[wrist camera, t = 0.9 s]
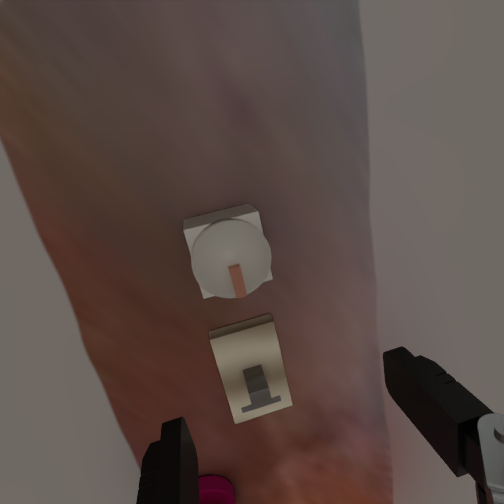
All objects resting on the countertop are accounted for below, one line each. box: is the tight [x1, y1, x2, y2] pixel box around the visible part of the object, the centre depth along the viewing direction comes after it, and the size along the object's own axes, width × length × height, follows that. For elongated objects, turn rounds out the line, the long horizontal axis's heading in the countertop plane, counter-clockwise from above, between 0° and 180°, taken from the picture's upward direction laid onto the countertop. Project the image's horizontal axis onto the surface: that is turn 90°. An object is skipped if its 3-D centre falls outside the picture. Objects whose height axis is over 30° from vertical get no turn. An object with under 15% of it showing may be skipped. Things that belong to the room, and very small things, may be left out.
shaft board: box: [209, 314, 292, 424], centre depth 30 cm, size 10×6×5 cm, turn 12°
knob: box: [183, 203, 273, 299], centre depth 25 cm, size 6×6×6 cm
